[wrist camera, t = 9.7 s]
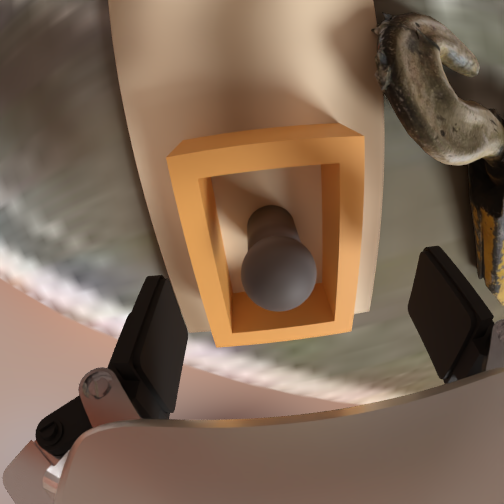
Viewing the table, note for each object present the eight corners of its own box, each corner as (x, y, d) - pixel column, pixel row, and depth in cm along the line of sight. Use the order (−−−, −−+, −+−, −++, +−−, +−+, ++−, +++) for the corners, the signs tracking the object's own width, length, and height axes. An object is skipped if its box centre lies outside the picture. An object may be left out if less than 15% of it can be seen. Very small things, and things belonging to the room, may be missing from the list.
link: (339, 123, 13) (364, 136, 10) (337, 293, 18) (351, 331, 15) (182, 140, 13) (165, 157, 10) (219, 307, 18) (216, 347, 16)
